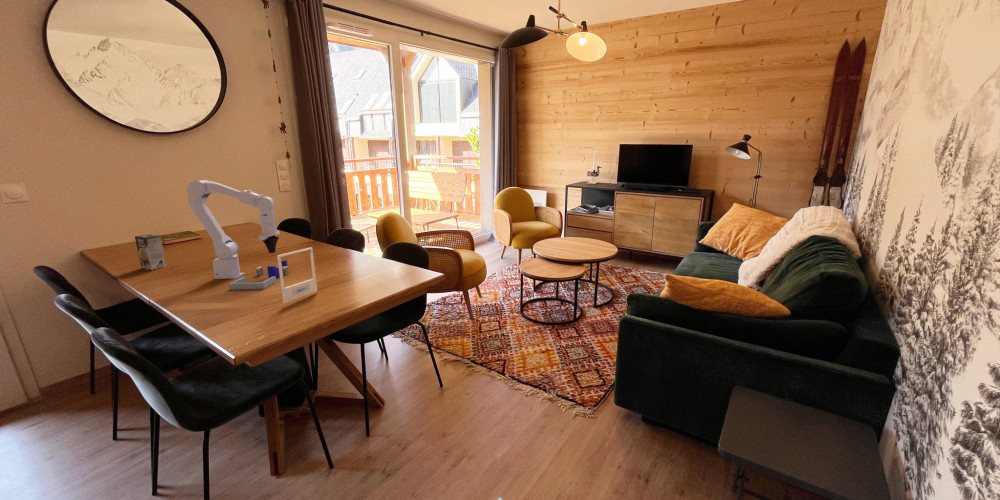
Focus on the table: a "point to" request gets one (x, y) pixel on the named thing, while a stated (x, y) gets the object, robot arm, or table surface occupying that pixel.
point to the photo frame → (299, 288)
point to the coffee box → (150, 251)
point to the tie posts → (260, 270)
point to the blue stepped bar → (275, 269)
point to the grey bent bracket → (251, 284)
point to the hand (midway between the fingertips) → (272, 252)
